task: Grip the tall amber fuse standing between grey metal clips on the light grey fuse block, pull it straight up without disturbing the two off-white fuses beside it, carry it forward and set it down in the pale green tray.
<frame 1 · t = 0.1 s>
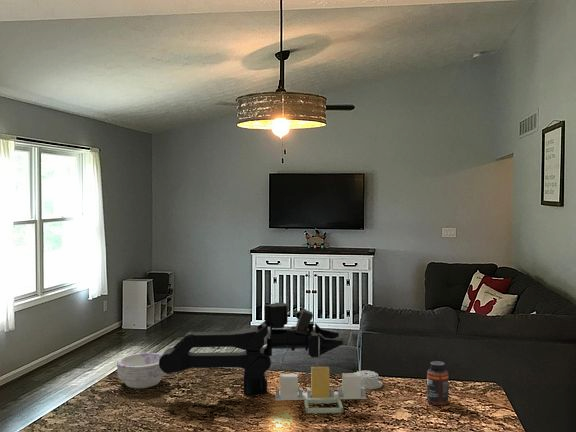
hand: (340, 338, 173), 17 cm above the countertop, tool horizontal, fingers open, 9 cm apart
mechanical component: (366, 388, 180), on the countertop
paper bowls: (142, 384, 184), on the countertop
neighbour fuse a: (289, 396, 169), point 1 cm above the countertop, touching fuse block
fuse block: (320, 399, 170), on the countertop
amber fuse: (320, 395, 170), point 1 cm above the countertop, touching fuse block
supplement bottle: (437, 403, 167), on the countertop
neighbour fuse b: (351, 395, 170), point 1 cm above the countertop, touching fuse block
tray: (323, 410, 161), on the countertop
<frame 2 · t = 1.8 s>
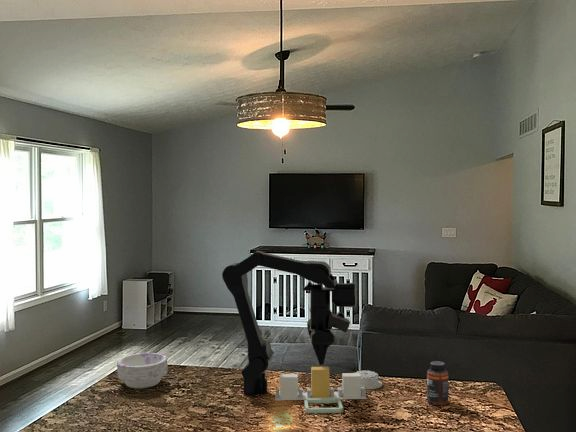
hand: (319, 359, 169), 11 cm above the countertop, tool pointing down, fingers open, 9 cm apart
nothing on the countertop moved.
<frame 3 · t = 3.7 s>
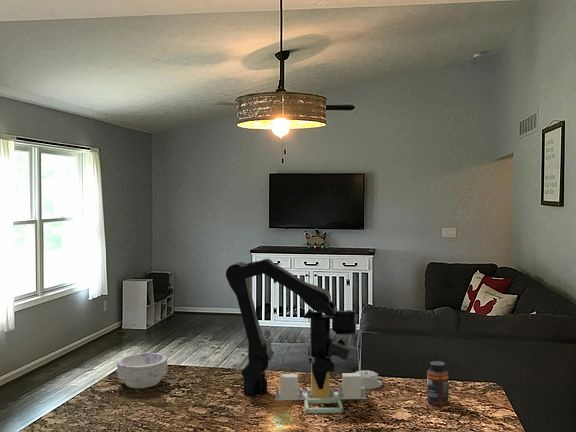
hand: (320, 387, 170), 4 cm above the countertop, tool pointing down, fingers closed on amber fuse, 3 cm apart
amber fuse: (320, 395, 170), point 1 cm above the countertop, touching fuse block, gripper
everything else where it was.
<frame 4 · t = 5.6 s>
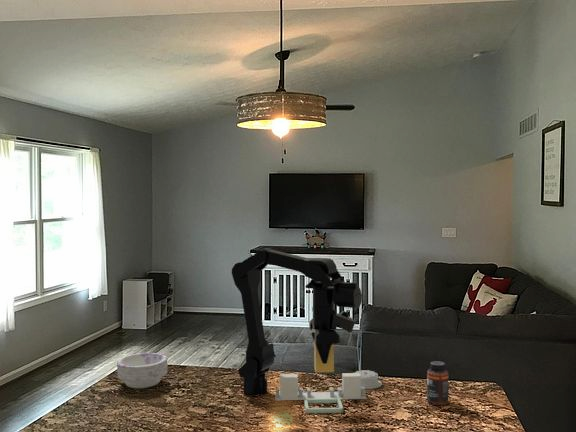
hand: (323, 361, 161), 13 cm above the countertop, tool pointing down, fingers closed on amber fuse, 3 cm apart
amber fuse: (324, 370, 162), point 11 cm above the countertop, touching gripper
everything else where it was.
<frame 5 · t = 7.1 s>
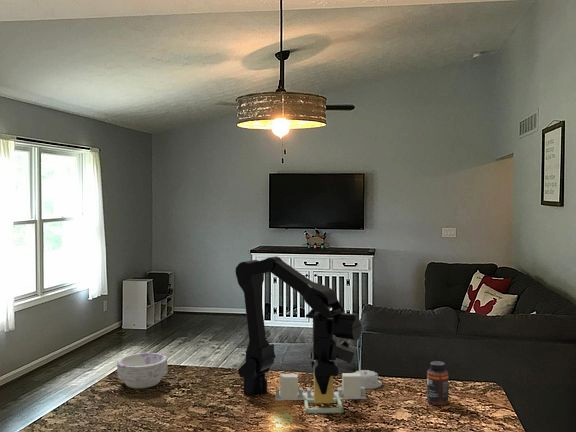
hand: (323, 391, 161), 5 cm above the countertop, tool pointing down, fingers closed on amber fuse, 3 cm apart
amber fuse: (323, 400, 161), point 3 cm above the countertop, touching gripper
everything else where it was.
when the fingers open (4 cm above the countertop, at t = 7.9 s): amber fuse drops 1 cm, resting on tray.
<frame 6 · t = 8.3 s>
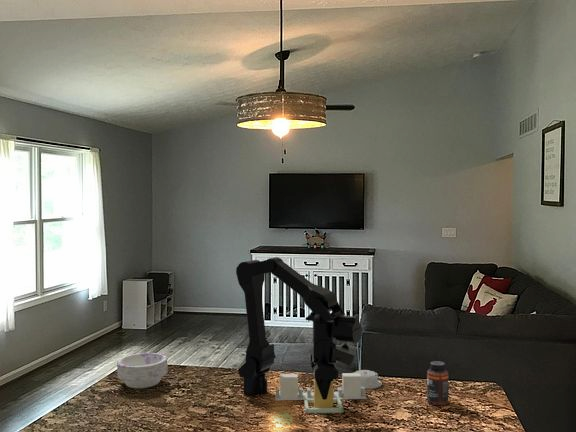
hand: (323, 394, 161), 4 cm above the countertop, tool pointing down, fingers open, 7 cm apart
amber fuse: (323, 408, 161), resting on tray
everything else where it was.
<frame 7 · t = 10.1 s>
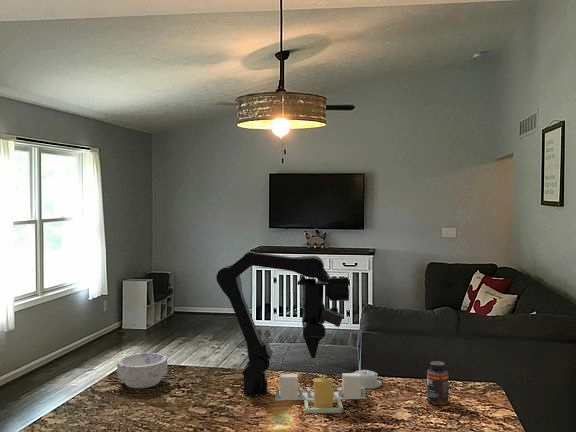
hand: (312, 353, 171), 13 cm above the countertop, tool pointing down, fingers open, 9 cm apart
nothing on the countertop moved.
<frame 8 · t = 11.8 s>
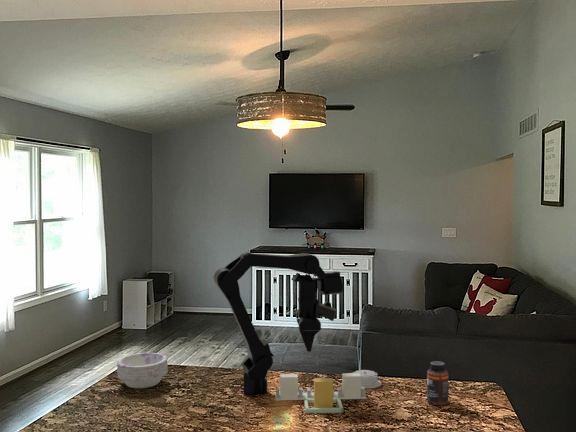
hand: (307, 347, 177), 13 cm above the countertop, tool pointing down, fingers open, 9 cm apart
nothing on the countertop moved.
at the end: amber fuse inside the target area on the tray (0.0 cm from its centre), point 0.5 cm above the tray's base; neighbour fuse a moved 0.0 cm from its start; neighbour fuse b moved 0.0 cm from its start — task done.
